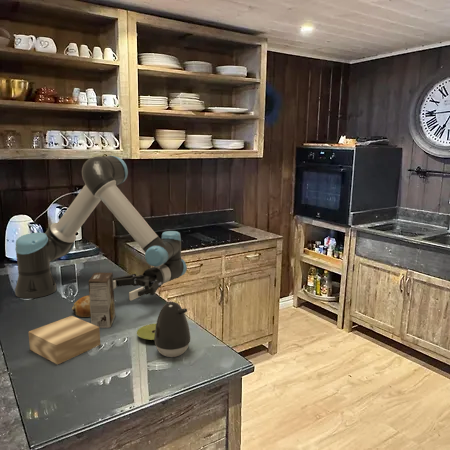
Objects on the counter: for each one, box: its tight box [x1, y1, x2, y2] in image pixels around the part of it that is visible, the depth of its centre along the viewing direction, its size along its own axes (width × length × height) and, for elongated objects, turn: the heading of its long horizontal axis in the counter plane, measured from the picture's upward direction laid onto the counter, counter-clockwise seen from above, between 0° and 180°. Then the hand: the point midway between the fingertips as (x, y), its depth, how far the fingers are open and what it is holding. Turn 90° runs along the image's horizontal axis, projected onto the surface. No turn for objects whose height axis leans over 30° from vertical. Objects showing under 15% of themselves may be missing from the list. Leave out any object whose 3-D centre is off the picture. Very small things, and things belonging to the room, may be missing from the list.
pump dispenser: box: [153, 301, 191, 358], centre depth 116 cm, size 10×10×15 cm
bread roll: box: [71, 295, 91, 318], centre depth 145 cm, size 10×10×8 cm
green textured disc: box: [136, 323, 156, 341], centre depth 127 cm, size 11×11×2 cm
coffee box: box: [87, 272, 116, 329], centre depth 136 cm, size 9×6×16 cm
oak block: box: [28, 315, 102, 365], centre depth 120 cm, size 14×14×6 cm
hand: (115, 292), depth 140 cm, fingers open, 13 cm apart
